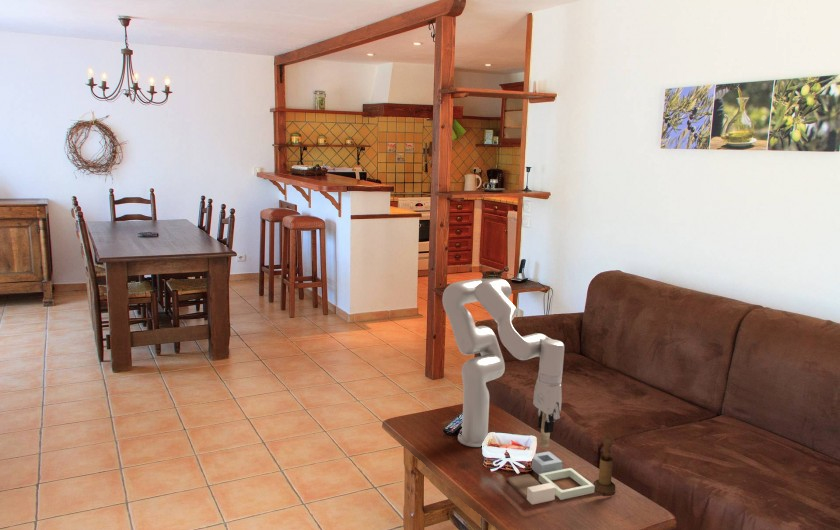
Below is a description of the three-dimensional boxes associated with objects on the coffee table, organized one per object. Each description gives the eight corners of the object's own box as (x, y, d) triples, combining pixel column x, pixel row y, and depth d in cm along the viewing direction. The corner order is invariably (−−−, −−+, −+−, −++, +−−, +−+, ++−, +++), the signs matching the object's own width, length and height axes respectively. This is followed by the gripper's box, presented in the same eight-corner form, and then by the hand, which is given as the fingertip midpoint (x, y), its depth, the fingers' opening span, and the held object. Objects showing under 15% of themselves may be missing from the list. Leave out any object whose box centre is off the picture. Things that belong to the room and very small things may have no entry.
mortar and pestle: (599, 497, 199) (603, 443, 196) (589, 486, 205) (593, 434, 202) (618, 495, 200) (623, 441, 197) (608, 485, 206) (612, 432, 203)
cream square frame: (538, 483, 206) (539, 474, 206) (570, 477, 211) (571, 467, 210) (560, 502, 195) (561, 492, 194) (594, 495, 199) (594, 485, 199)
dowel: (537, 443, 214) (540, 409, 211) (545, 442, 215) (548, 409, 213) (542, 447, 211) (545, 413, 209) (550, 446, 212) (553, 412, 210)
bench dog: (526, 502, 194) (527, 487, 194) (548, 497, 197) (549, 482, 197) (531, 507, 192) (532, 492, 191) (554, 502, 195) (555, 487, 194)
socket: (528, 468, 216) (528, 454, 215) (548, 464, 219) (549, 451, 218) (541, 479, 209) (542, 465, 208) (561, 475, 212) (562, 461, 211)
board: (507, 484, 206) (507, 477, 205) (528, 480, 209) (529, 473, 208) (526, 503, 195) (526, 496, 194) (548, 499, 198) (549, 491, 197)
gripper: (526, 370, 214) (522, 421, 218) (554, 387, 199) (549, 442, 203) (545, 367, 217) (541, 418, 221) (574, 385, 202) (569, 439, 206)
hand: (545, 429), depth 212 cm, fingers closed on dowel, 2 cm apart
